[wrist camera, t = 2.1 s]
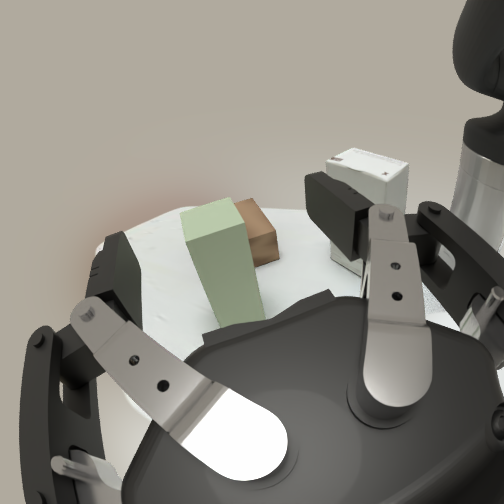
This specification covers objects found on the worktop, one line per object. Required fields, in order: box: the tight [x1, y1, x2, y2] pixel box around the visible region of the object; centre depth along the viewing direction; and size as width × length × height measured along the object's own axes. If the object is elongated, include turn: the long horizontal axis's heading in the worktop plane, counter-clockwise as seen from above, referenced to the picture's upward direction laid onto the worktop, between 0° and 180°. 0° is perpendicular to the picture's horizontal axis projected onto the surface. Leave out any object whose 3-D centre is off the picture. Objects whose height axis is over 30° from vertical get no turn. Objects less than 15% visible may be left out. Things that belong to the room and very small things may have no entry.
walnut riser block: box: [234, 198, 279, 268], centre depth 41 cm, size 10×10×5 cm
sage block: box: [180, 197, 265, 328], centre depth 28 cm, size 5×5×14 cm
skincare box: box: [326, 148, 409, 276], centre depth 31 cm, size 8×6×15 cm
